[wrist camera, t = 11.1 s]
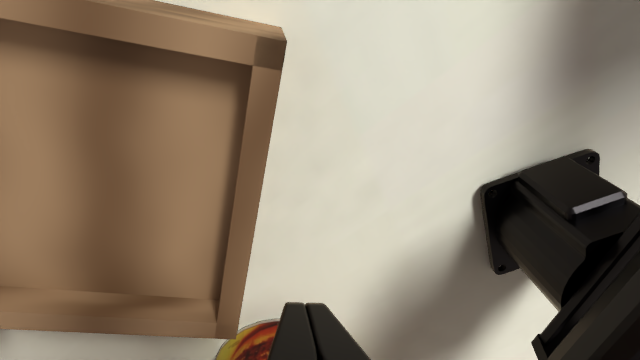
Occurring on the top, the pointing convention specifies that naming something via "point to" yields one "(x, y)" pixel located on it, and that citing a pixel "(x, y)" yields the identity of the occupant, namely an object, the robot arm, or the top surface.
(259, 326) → the canned food
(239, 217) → the wooden tray
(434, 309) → the top surface
